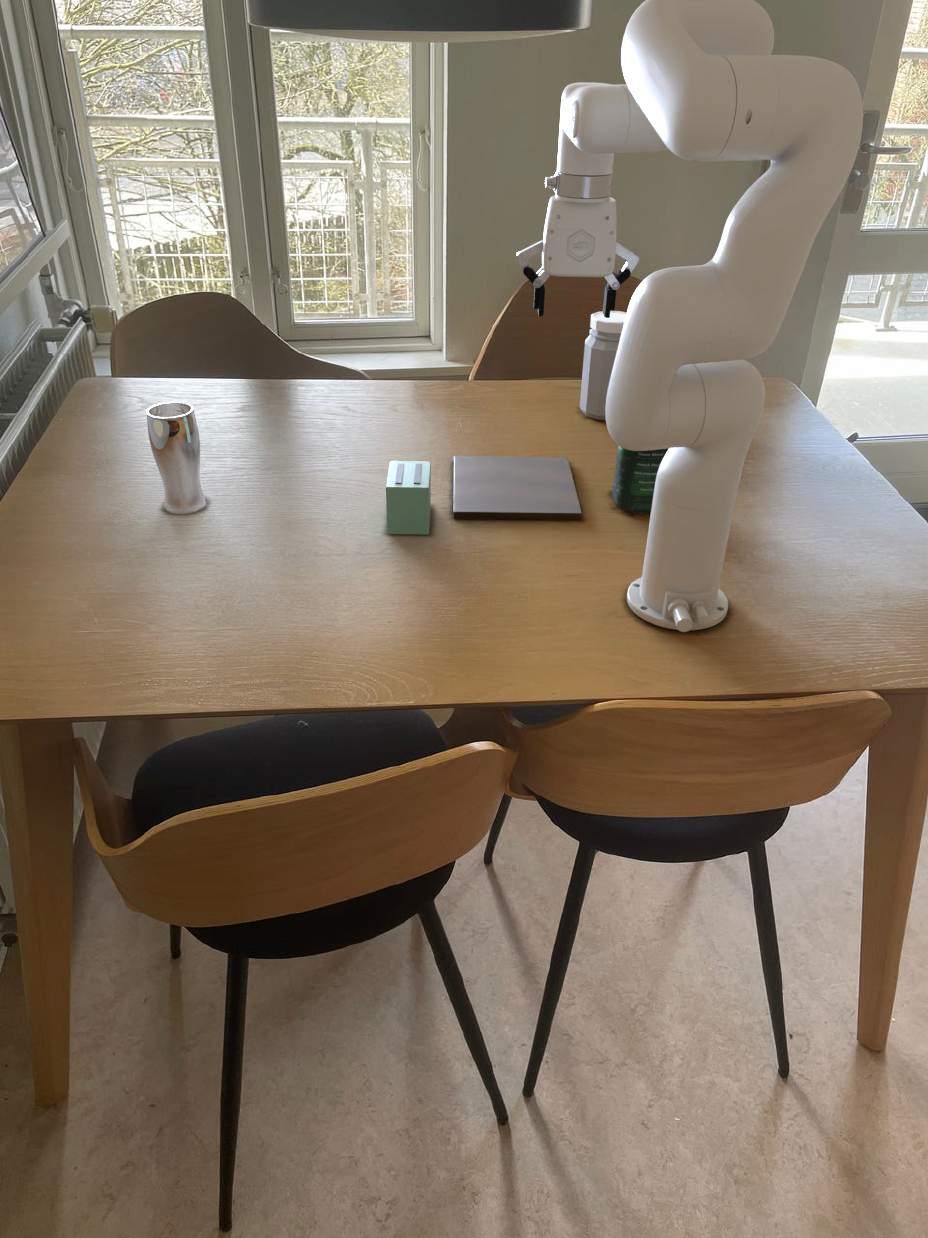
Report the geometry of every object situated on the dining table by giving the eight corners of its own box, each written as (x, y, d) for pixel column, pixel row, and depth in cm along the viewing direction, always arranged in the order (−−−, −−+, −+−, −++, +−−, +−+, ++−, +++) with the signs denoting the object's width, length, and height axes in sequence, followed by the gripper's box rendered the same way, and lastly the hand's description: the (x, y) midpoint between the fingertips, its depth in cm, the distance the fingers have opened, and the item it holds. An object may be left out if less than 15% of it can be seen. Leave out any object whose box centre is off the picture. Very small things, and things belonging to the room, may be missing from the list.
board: (581, 520, 138) (581, 513, 137) (453, 518, 137) (453, 511, 137) (567, 463, 155) (567, 457, 155) (453, 462, 155) (454, 455, 154)
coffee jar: (668, 516, 139) (686, 396, 129) (615, 515, 139) (630, 395, 129) (658, 489, 147) (675, 374, 137) (608, 488, 147) (621, 373, 137)
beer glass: (218, 505, 140) (204, 409, 132) (178, 520, 136) (161, 422, 127) (192, 491, 144) (177, 397, 136) (152, 505, 139) (134, 409, 131)
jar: (573, 404, 179) (581, 309, 170) (622, 403, 180) (633, 308, 171) (584, 422, 171) (593, 324, 162) (636, 421, 172) (647, 323, 163)
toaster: (429, 534, 133) (428, 486, 129) (387, 534, 133) (385, 486, 129) (430, 503, 142) (430, 457, 138) (391, 502, 142) (390, 456, 138)
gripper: (520, 189, 123) (514, 320, 132) (650, 192, 123) (635, 323, 132) (519, 181, 129) (513, 306, 139) (642, 184, 129) (628, 309, 139)
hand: (573, 314), depth 136 cm, fingers open, 9 cm apart
